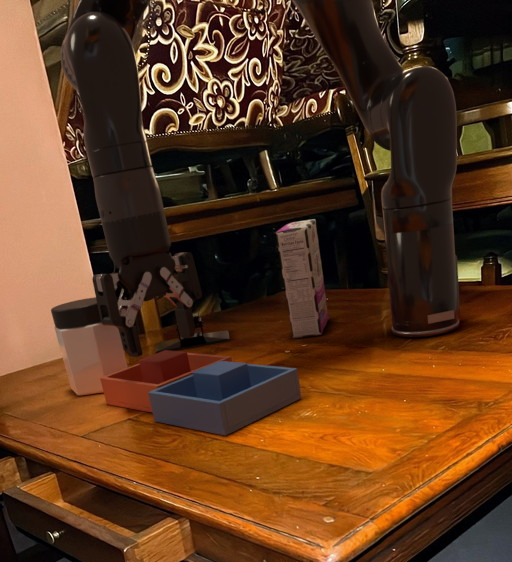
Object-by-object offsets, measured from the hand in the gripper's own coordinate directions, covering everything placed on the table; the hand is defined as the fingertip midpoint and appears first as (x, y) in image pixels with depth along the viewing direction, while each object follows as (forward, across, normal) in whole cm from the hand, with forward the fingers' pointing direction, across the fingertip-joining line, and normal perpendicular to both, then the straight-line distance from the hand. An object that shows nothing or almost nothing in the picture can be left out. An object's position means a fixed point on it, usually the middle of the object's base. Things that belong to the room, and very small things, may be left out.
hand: (162, 346), depth 88 cm
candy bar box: (+7, +32, +3) cm, 33 cm away
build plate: (+7, +21, +20) cm, 30 cm away
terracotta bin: (+6, 0, 0) cm, 6 cm away
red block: (+6, 0, 0) cm, 6 cm away
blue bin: (+6, -2, -13) cm, 14 cm away
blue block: (+6, -2, -13) cm, 14 cm away
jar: (+6, -1, +15) cm, 17 cm away
